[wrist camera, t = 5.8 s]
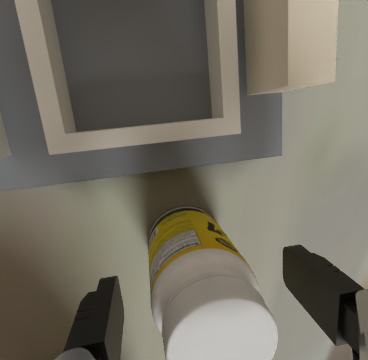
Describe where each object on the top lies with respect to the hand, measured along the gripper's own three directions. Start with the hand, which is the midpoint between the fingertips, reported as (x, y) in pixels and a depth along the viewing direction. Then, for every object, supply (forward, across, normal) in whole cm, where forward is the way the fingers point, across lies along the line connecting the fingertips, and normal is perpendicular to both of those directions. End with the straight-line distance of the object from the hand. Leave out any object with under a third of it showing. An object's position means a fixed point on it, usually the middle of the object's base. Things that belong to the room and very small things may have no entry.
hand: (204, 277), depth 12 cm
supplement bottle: (+5, 0, 0) cm, 5 cm away
